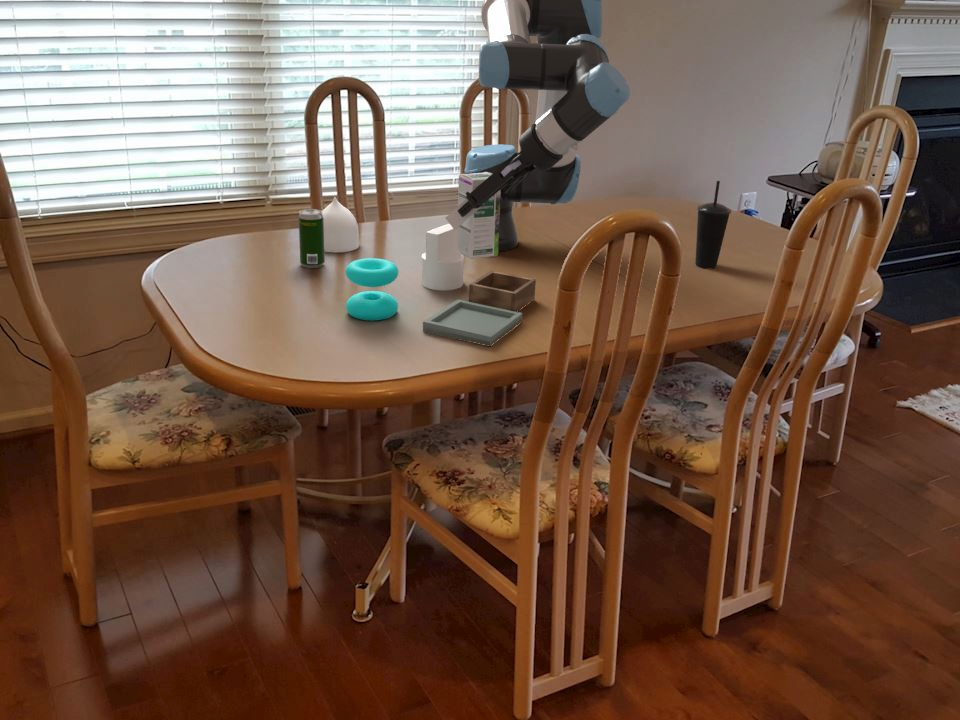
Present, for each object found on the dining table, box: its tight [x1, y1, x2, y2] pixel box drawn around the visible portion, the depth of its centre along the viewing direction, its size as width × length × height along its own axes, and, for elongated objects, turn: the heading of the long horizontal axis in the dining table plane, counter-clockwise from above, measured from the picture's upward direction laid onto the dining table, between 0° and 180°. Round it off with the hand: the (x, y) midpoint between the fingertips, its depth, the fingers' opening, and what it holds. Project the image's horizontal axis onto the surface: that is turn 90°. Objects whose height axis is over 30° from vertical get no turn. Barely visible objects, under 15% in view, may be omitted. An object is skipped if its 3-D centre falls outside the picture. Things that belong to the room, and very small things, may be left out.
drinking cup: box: [694, 180, 732, 269], centre depth 214 cm, size 8×8×20 cm
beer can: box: [298, 208, 326, 269], centre depth 204 cm, size 5×5×12 cm
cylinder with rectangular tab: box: [420, 223, 465, 291], centre depth 196 cm, size 9×9×12 cm
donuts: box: [345, 257, 399, 322], centre depth 179 cm, size 10×10×10 cm
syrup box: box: [457, 172, 501, 260], centre depth 167 cm, size 6×6×14 cm
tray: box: [422, 299, 523, 347], centre depth 176 cm, size 14×14×2 cm
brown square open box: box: [468, 270, 537, 312], centre depth 188 cm, size 10×10×4 cm
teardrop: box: [321, 196, 360, 254], centre depth 218 cm, size 11×11×12 cm
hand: (461, 218), depth 169 cm, fingers closed on syrup box, 8 cm apart
